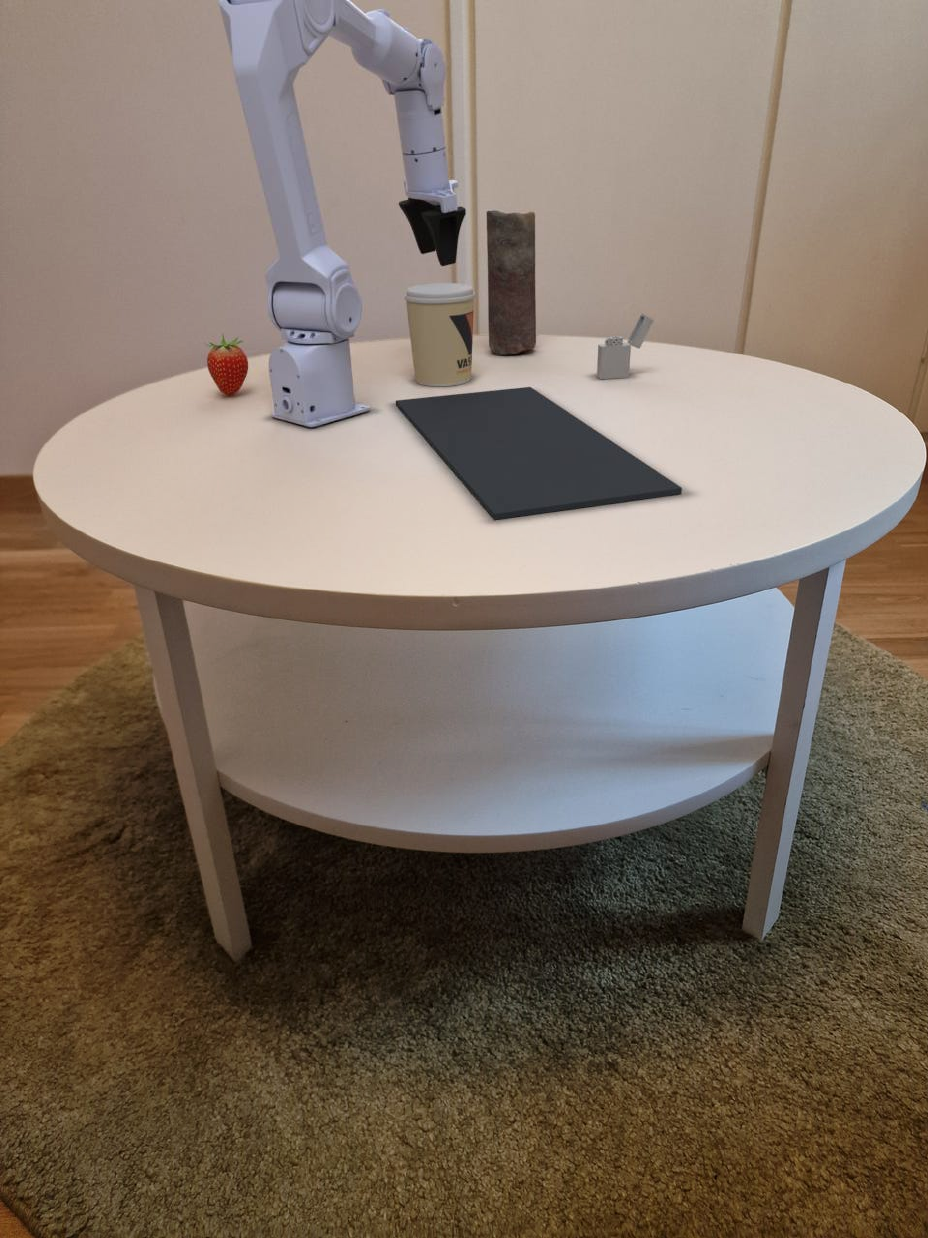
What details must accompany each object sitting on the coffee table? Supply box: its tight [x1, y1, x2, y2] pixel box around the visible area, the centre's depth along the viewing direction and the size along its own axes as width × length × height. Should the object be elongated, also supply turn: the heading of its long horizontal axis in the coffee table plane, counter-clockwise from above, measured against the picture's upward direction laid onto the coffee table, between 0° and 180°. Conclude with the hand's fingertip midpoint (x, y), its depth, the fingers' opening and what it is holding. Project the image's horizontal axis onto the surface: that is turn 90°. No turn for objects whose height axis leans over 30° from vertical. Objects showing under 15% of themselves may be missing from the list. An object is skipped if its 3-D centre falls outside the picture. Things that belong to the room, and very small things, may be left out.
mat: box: [395, 386, 683, 521], centre depth 92 cm, size 40×18×1 cm, turn 16°
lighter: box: [596, 313, 655, 380], centre depth 115 cm, size 7×2×8 cm, turn 100°
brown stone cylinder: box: [486, 210, 537, 356], centre depth 128 cm, size 8×7×20 cm
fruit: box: [204, 333, 249, 397], centre depth 112 cm, size 5×5×8 cm
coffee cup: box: [404, 282, 476, 387], centre depth 115 cm, size 9×9×12 cm
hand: (437, 258), depth 119 cm, fingers open, 7 cm apart
